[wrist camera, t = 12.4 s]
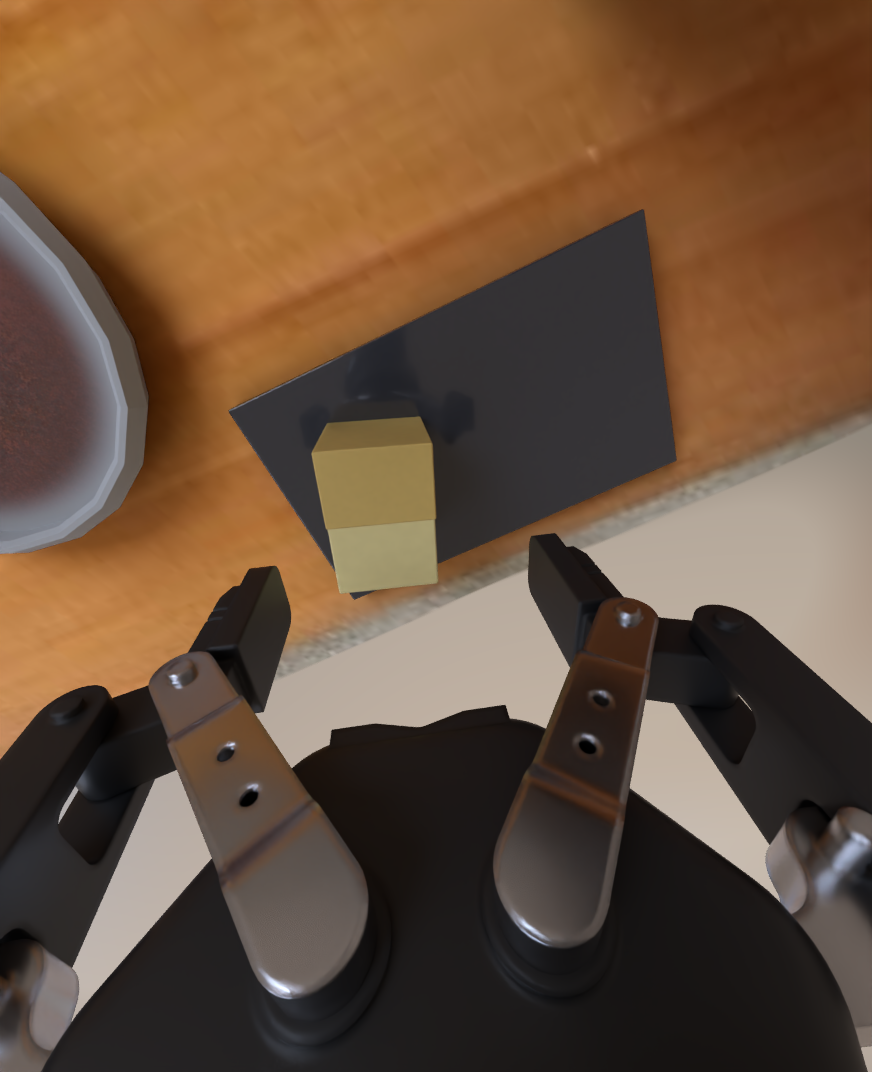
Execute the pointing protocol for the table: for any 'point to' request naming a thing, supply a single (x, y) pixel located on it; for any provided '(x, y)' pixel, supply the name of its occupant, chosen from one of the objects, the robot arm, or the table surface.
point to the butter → (378, 502)
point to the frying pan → (61, 387)
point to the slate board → (498, 393)
